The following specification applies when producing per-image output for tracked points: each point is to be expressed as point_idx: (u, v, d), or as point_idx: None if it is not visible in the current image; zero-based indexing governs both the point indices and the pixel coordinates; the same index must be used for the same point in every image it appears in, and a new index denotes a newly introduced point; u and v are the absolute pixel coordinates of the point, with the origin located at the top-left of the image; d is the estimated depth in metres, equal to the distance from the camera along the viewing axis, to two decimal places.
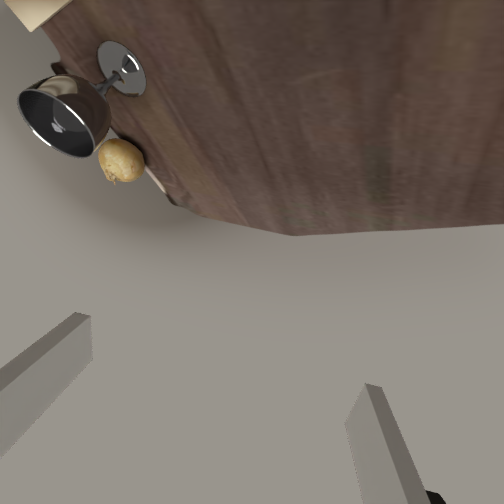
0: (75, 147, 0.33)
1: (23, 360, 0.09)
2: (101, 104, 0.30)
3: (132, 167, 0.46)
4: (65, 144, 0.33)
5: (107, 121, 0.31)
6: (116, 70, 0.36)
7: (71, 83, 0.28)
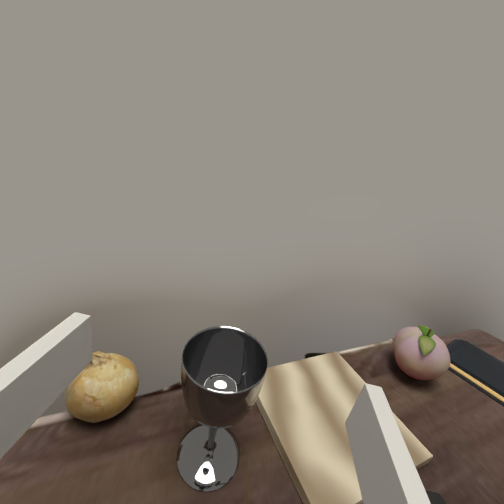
0: (187, 353, 0.25)
1: (23, 360, 0.09)
2: (226, 422, 0.22)
3: (93, 399, 0.28)
4: (194, 345, 0.26)
5: (206, 418, 0.22)
6: (214, 447, 0.29)
7: (255, 400, 0.24)
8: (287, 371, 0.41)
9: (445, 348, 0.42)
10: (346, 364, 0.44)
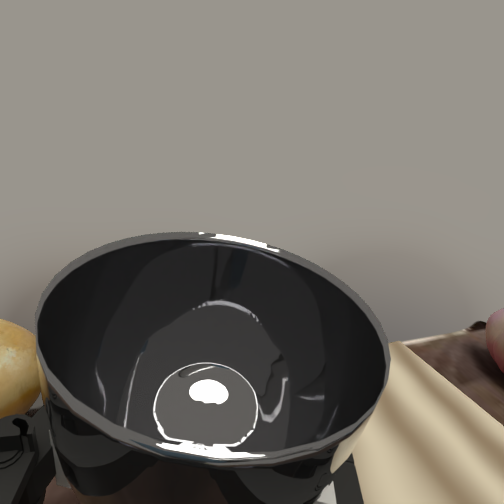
0: (109, 292, 0.08)
1: None
2: None
3: None
4: (136, 273, 0.09)
5: None
6: None
7: None
8: None
9: None
10: (421, 361, 0.27)
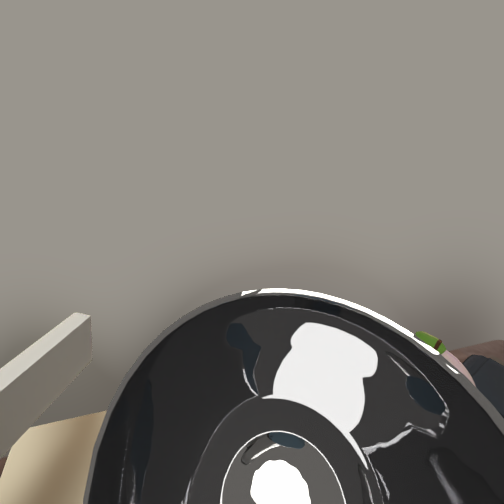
0: (154, 393, 0.07)
1: (23, 360, 0.09)
2: None
3: None
4: (179, 357, 0.08)
5: None
6: None
7: None
8: None
9: None
10: None
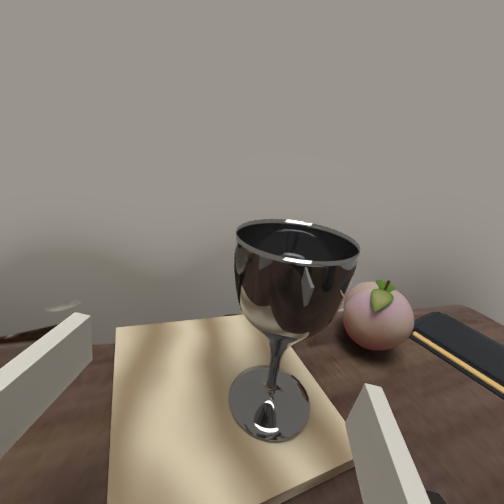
0: None
1: (23, 360, 0.09)
2: (309, 324, 0.15)
3: None
4: (245, 240, 0.19)
5: (280, 316, 0.15)
6: (277, 388, 0.22)
7: None
8: (181, 329, 0.28)
9: (407, 305, 0.30)
10: None
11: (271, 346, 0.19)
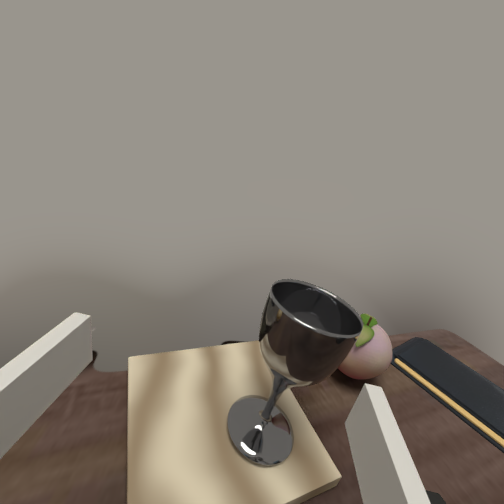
0: None
1: (23, 360, 0.09)
2: (317, 376, 0.20)
3: None
4: None
5: (297, 367, 0.19)
6: (269, 419, 0.26)
7: None
8: (185, 358, 0.32)
9: (386, 340, 0.34)
10: None
11: (276, 384, 0.23)
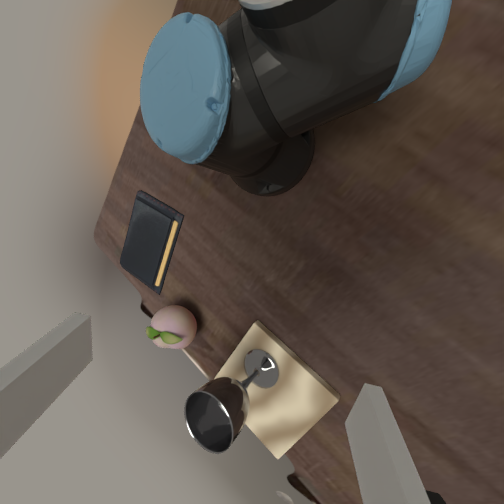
0: (220, 443, 0.34)
1: (23, 360, 0.09)
2: (240, 392, 0.35)
3: None
4: (212, 442, 0.35)
5: (245, 406, 0.35)
6: (256, 368, 0.45)
7: (220, 381, 0.36)
8: (255, 426, 0.48)
9: (163, 319, 0.47)
10: (217, 376, 0.51)
11: None
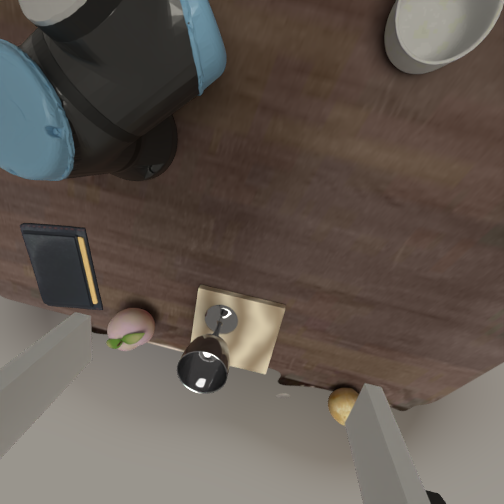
0: (219, 382, 0.42)
1: (23, 360, 0.09)
2: (215, 338, 0.42)
3: None
4: (213, 385, 0.42)
5: (224, 345, 0.42)
6: (218, 321, 0.52)
7: (196, 340, 0.42)
8: (239, 362, 0.58)
9: (118, 327, 0.49)
10: None
11: None
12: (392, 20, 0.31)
